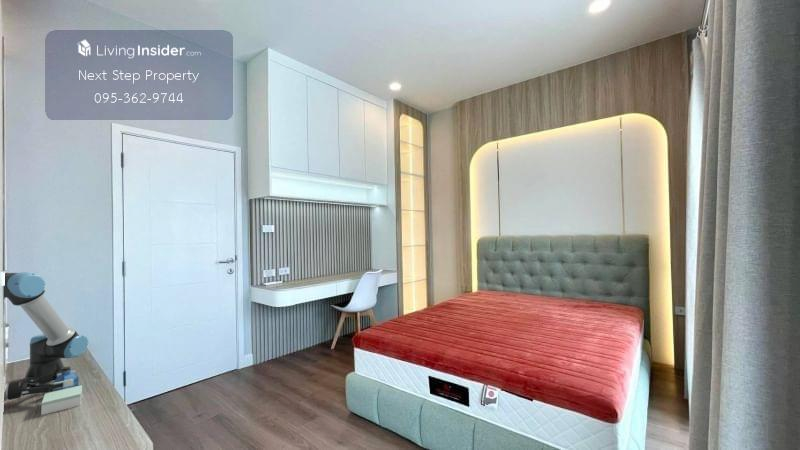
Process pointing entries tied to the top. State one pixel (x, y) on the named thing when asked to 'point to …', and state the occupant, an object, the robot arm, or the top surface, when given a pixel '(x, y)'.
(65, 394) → the mint green square block
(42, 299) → the robot arm
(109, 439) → the top surface
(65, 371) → the perfume bottle
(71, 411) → the top surface
